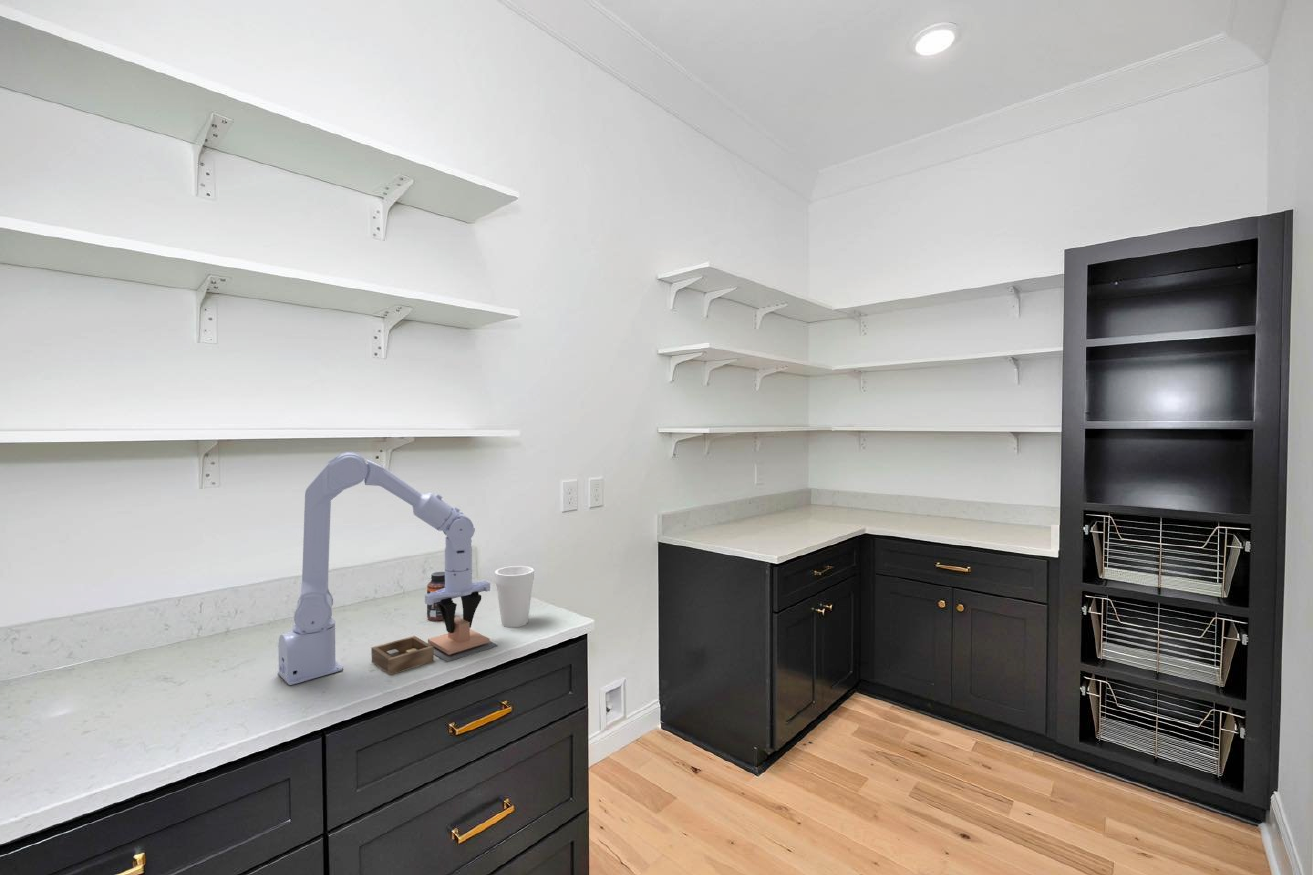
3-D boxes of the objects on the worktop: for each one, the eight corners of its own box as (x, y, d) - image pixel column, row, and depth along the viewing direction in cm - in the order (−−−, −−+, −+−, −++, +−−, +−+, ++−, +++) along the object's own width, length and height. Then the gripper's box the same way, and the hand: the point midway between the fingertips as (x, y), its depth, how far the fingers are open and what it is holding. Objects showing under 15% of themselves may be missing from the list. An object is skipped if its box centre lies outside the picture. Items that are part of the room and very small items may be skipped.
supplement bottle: (435, 623, 142) (435, 577, 142) (422, 618, 146) (421, 573, 146) (456, 616, 147) (456, 572, 147) (443, 612, 151) (443, 569, 151)
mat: (446, 662, 120) (446, 660, 120) (420, 646, 128) (420, 645, 128) (497, 645, 128) (497, 644, 128) (469, 632, 136) (469, 631, 136)
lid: (448, 657, 121) (448, 632, 121) (427, 645, 128) (427, 621, 128) (489, 644, 128) (489, 620, 128) (467, 633, 135) (467, 610, 135)
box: (389, 674, 114) (389, 659, 113) (371, 661, 120) (371, 647, 120) (433, 661, 120) (433, 646, 120) (414, 649, 126) (414, 635, 126)
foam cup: (488, 622, 144) (488, 570, 143) (521, 613, 150) (521, 564, 149) (506, 632, 137) (506, 577, 136) (541, 623, 143) (540, 571, 142)
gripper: (435, 578, 119) (436, 643, 120) (497, 565, 130) (497, 625, 130) (420, 572, 124) (420, 634, 125) (480, 560, 135) (481, 617, 135)
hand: (458, 629), depth 128 cm, fingers open, 3 cm apart
